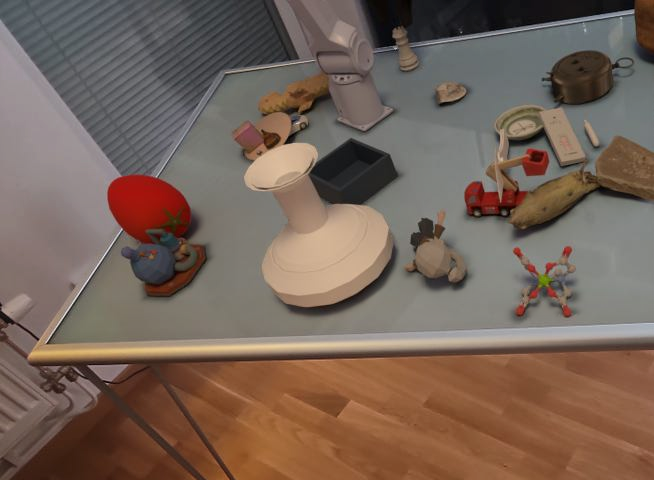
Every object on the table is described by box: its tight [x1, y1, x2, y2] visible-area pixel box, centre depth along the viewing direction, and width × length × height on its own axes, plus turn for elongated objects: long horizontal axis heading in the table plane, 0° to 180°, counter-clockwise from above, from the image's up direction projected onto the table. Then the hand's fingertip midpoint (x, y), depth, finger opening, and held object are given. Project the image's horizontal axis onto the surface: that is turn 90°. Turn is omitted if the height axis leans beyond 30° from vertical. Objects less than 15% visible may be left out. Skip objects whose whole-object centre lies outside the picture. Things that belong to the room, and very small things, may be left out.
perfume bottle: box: [231, 112, 292, 162], centre depth 122 cm, size 12×12×4 cm
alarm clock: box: [540, 49, 635, 105], centre depth 111 cm, size 11×5×16 cm
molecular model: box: [512, 245, 577, 317], centre depth 79 cm, size 7×8×8 cm
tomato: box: [106, 174, 193, 246], centre depth 107 cm, size 13×11×14 cm
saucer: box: [493, 104, 547, 141], centre depth 107 cm, size 10×10×2 cm
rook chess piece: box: [392, 26, 420, 73], centre depth 130 cm, size 4×4×8 cm
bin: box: [308, 137, 399, 205], centre depth 107 cm, size 11×11×4 cm
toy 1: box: [257, 70, 331, 116], centre depth 132 cm, size 5×12×20 cm
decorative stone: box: [594, 134, 654, 202], centre depth 90 cm, size 10×6×15 cm
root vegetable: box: [507, 159, 602, 230], centre depth 91 cm, size 5×20×5 cm
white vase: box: [243, 142, 395, 308], centre depth 88 cm, size 20×20×19 cm
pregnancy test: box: [539, 106, 600, 167], centre depth 101 cm, size 8×12×1 cm, turn 14°
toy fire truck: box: [463, 147, 550, 218], centre depth 91 cm, size 3×14×10 cm, turn 75°
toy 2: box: [405, 209, 467, 283], centre depth 89 cm, size 11×8×15 cm
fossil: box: [434, 81, 467, 105], centre depth 121 cm, size 8×4×6 cm
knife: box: [494, 129, 510, 203], centre depth 93 cm, size 26×4×1 cm
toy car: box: [288, 114, 309, 137], centre depth 125 cm, size 4×12×3 cm, turn 126°
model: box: [120, 229, 207, 297], centre depth 101 cm, size 12×9×9 cm
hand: (396, 23), depth 126 cm, fingers open, 7 cm apart
